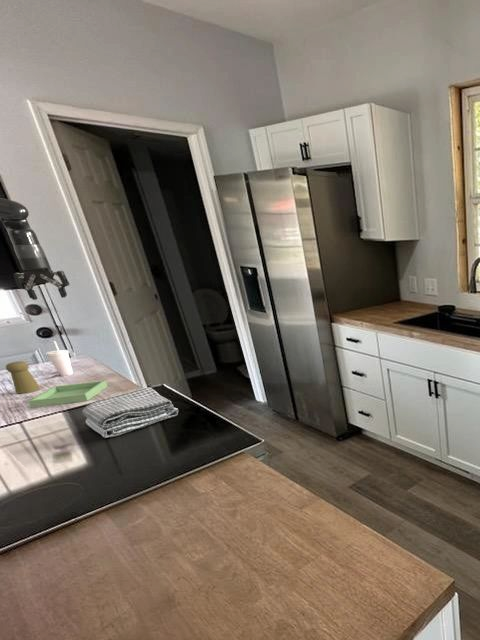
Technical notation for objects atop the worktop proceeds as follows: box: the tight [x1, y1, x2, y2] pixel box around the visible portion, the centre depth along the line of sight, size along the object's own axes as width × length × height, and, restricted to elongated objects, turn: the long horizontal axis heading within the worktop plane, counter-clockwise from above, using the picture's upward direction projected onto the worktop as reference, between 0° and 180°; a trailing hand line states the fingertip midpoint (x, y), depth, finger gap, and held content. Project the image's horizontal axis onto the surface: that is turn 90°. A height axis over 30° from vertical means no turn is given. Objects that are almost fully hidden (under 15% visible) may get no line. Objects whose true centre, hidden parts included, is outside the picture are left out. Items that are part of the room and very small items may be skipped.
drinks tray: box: [27, 380, 109, 409], centre depth 144 cm, size 15×15×2 cm
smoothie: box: [45, 340, 74, 377], centre depth 164 cm, size 6×6×14 cm
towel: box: [81, 386, 179, 439], centre depth 122 cm, size 15×18×8 cm
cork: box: [5, 360, 41, 395], centre depth 148 cm, size 6×6×11 cm
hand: (49, 298), depth 166 cm, fingers open, 8 cm apart
